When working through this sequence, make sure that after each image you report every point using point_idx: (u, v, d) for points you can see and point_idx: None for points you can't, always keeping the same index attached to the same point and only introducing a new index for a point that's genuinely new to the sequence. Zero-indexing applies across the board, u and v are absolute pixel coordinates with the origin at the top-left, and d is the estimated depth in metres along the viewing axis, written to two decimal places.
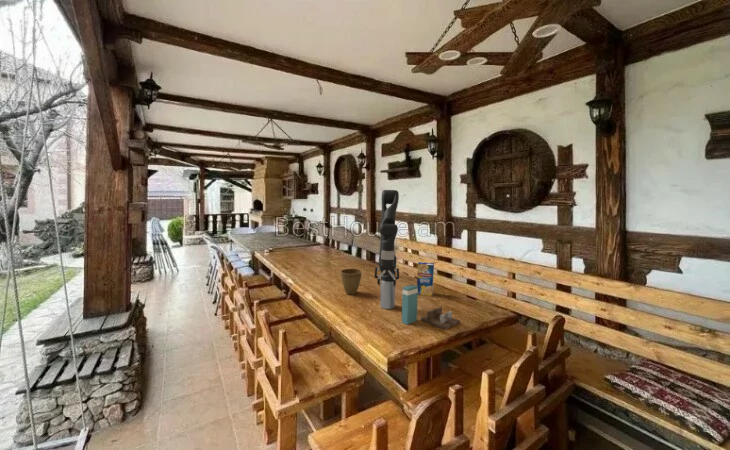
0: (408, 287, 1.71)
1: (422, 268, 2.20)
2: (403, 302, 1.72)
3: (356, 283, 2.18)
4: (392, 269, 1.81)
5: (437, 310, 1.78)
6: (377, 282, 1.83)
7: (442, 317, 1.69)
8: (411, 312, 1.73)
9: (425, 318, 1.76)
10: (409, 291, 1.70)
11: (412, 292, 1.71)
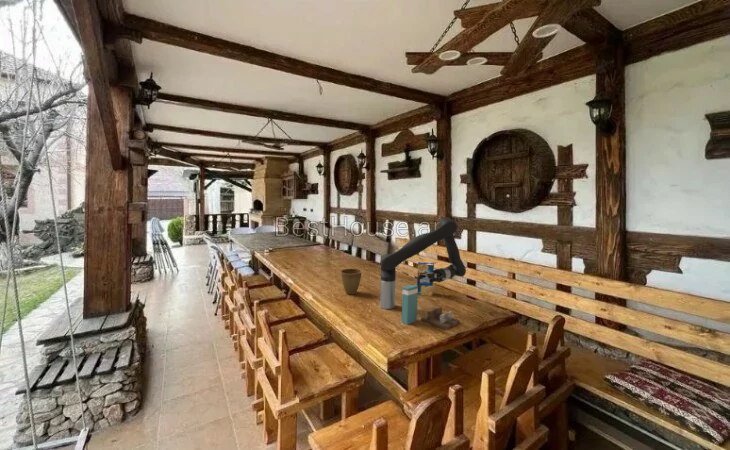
0: (408, 287, 1.71)
1: (422, 268, 2.20)
2: (403, 302, 1.72)
3: (356, 283, 2.18)
4: None
5: (437, 310, 1.78)
6: (433, 281, 1.78)
7: (442, 317, 1.69)
8: (411, 312, 1.73)
9: (425, 318, 1.76)
10: (409, 291, 1.70)
11: (412, 292, 1.71)
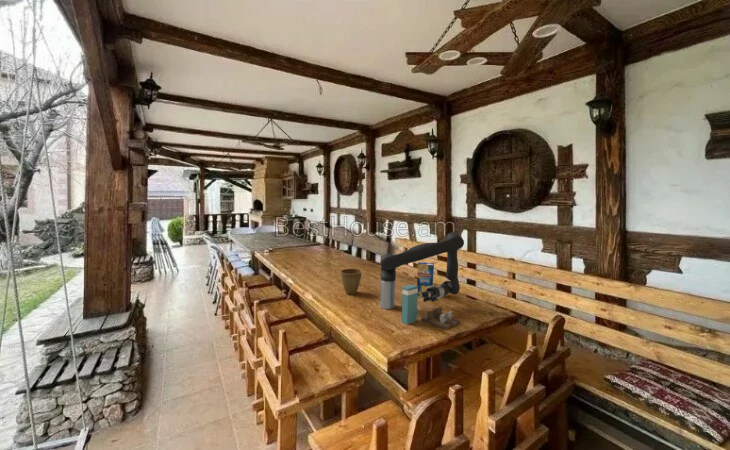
0: (408, 287, 1.71)
1: (422, 268, 2.20)
2: (403, 302, 1.72)
3: (356, 283, 2.18)
4: None
5: (437, 310, 1.78)
6: None
7: (442, 317, 1.69)
8: (411, 312, 1.73)
9: (425, 318, 1.76)
10: (409, 291, 1.70)
11: (411, 292, 1.71)
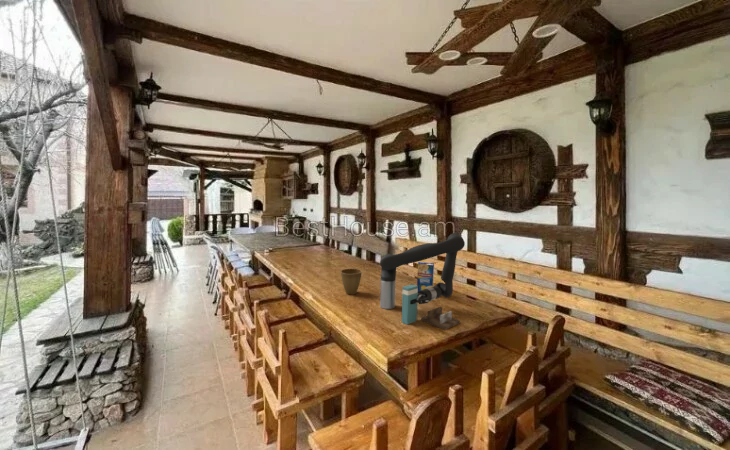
0: (408, 287, 1.71)
1: (422, 268, 2.20)
2: (403, 302, 1.72)
3: (356, 283, 2.18)
4: None
5: (437, 310, 1.78)
6: (414, 303, 1.71)
7: (442, 317, 1.69)
8: (412, 312, 1.73)
9: (425, 318, 1.76)
10: (409, 291, 1.70)
11: (412, 292, 1.71)
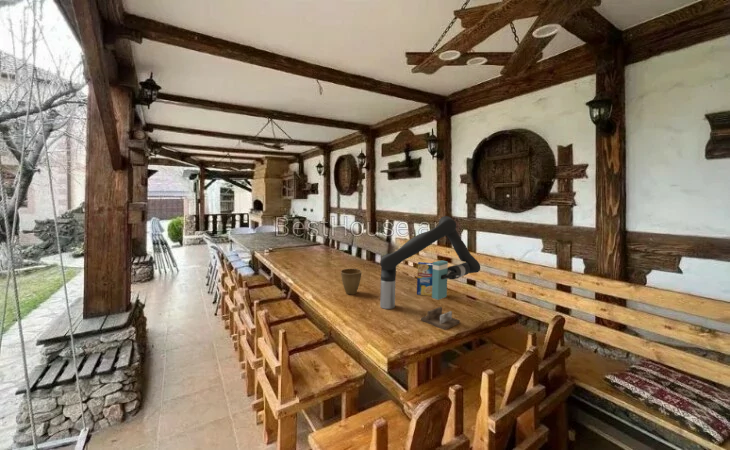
0: (438, 262, 1.70)
1: (422, 268, 2.20)
2: (433, 277, 1.71)
3: (356, 283, 2.18)
4: None
5: (437, 310, 1.78)
6: (444, 278, 1.70)
7: (442, 317, 1.69)
8: (442, 287, 1.72)
9: (425, 318, 1.76)
10: (440, 266, 1.69)
11: (442, 267, 1.70)
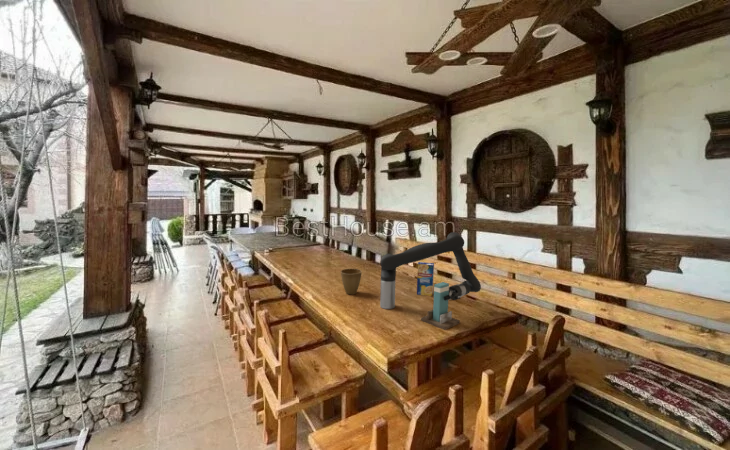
0: (440, 284, 1.72)
1: (422, 268, 2.20)
2: (435, 299, 1.72)
3: (356, 283, 2.18)
4: None
5: None
6: (447, 299, 1.71)
7: (442, 317, 1.69)
8: (443, 309, 1.73)
9: (425, 318, 1.76)
10: (441, 288, 1.70)
11: (443, 289, 1.72)
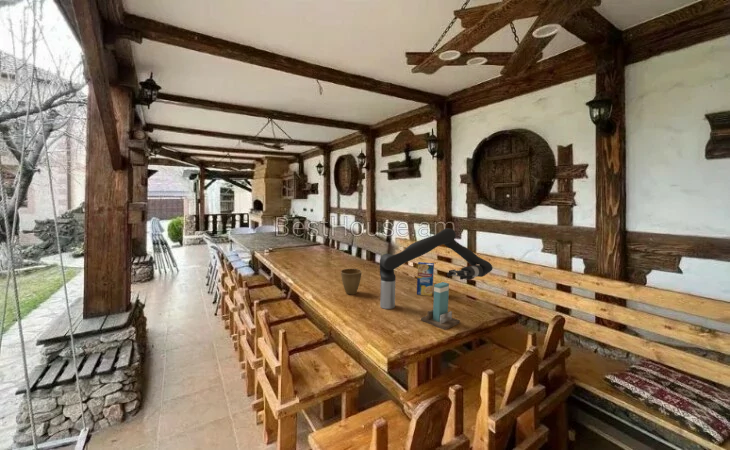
0: (440, 284, 1.72)
1: (422, 268, 2.20)
2: (434, 299, 1.72)
3: (356, 283, 2.18)
4: None
5: None
6: (463, 278, 1.77)
7: (442, 317, 1.69)
8: (443, 309, 1.73)
9: (425, 318, 1.76)
10: (441, 288, 1.70)
11: (443, 289, 1.72)
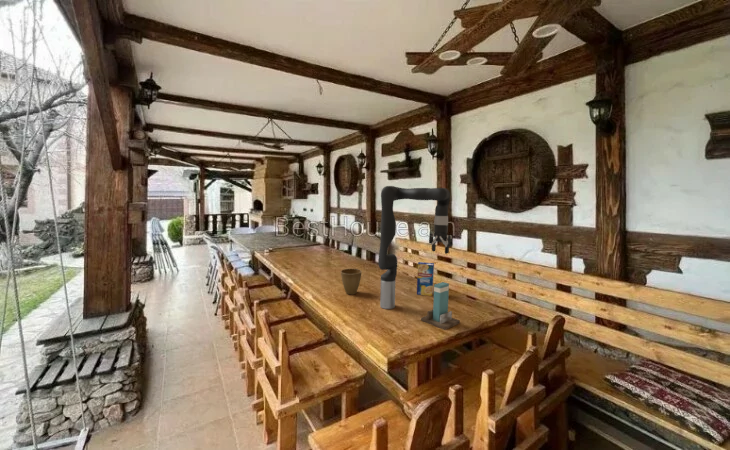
0: (440, 284, 1.72)
1: (422, 268, 2.20)
2: (434, 299, 1.72)
3: (356, 283, 2.18)
4: None
5: None
6: (448, 250, 1.74)
7: (442, 317, 1.69)
8: (443, 309, 1.73)
9: (425, 318, 1.76)
10: (441, 288, 1.70)
11: (443, 289, 1.72)
